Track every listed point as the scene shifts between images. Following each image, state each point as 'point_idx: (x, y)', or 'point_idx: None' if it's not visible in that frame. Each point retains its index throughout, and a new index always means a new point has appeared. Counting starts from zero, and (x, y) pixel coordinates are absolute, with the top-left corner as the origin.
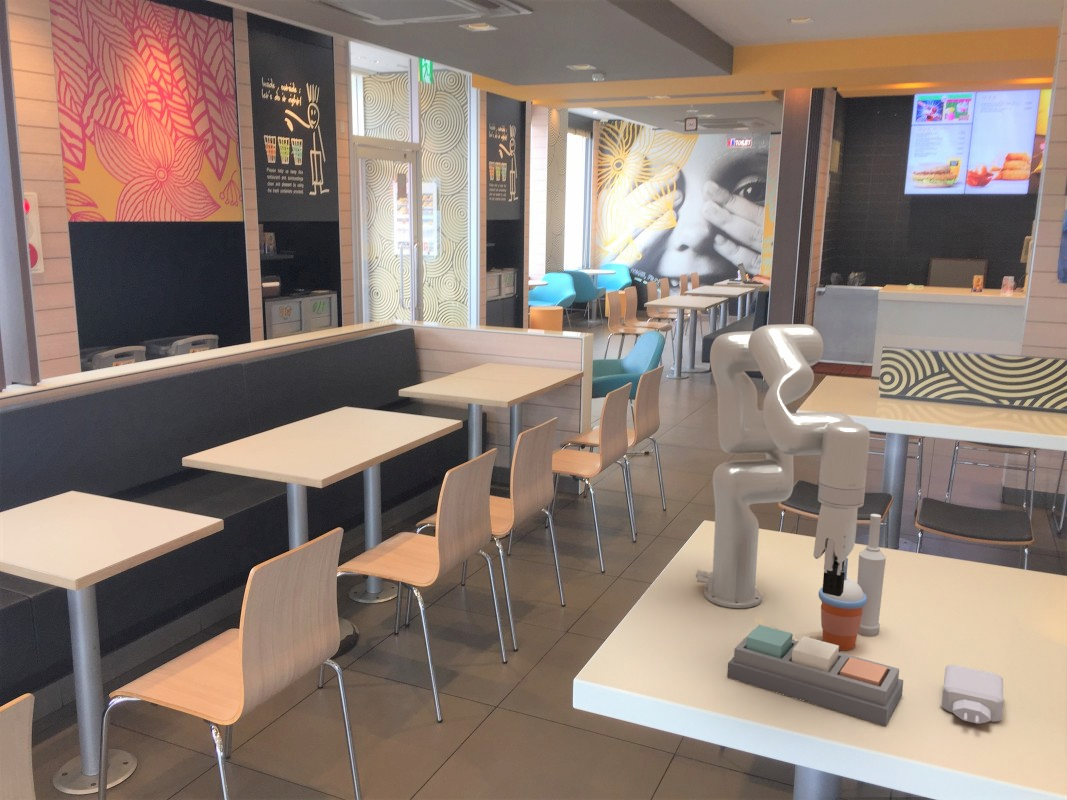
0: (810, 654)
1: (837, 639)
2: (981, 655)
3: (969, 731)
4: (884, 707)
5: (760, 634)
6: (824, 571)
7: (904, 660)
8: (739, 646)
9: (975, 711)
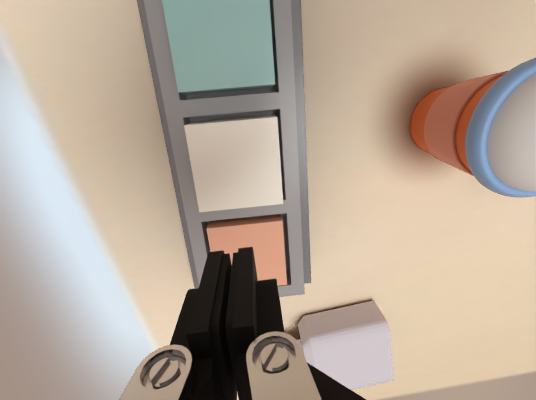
0: (192, 171)
1: (420, 131)
2: (500, 307)
3: None
4: None
5: (205, 5)
6: (139, 366)
7: (428, 233)
8: None
9: None
